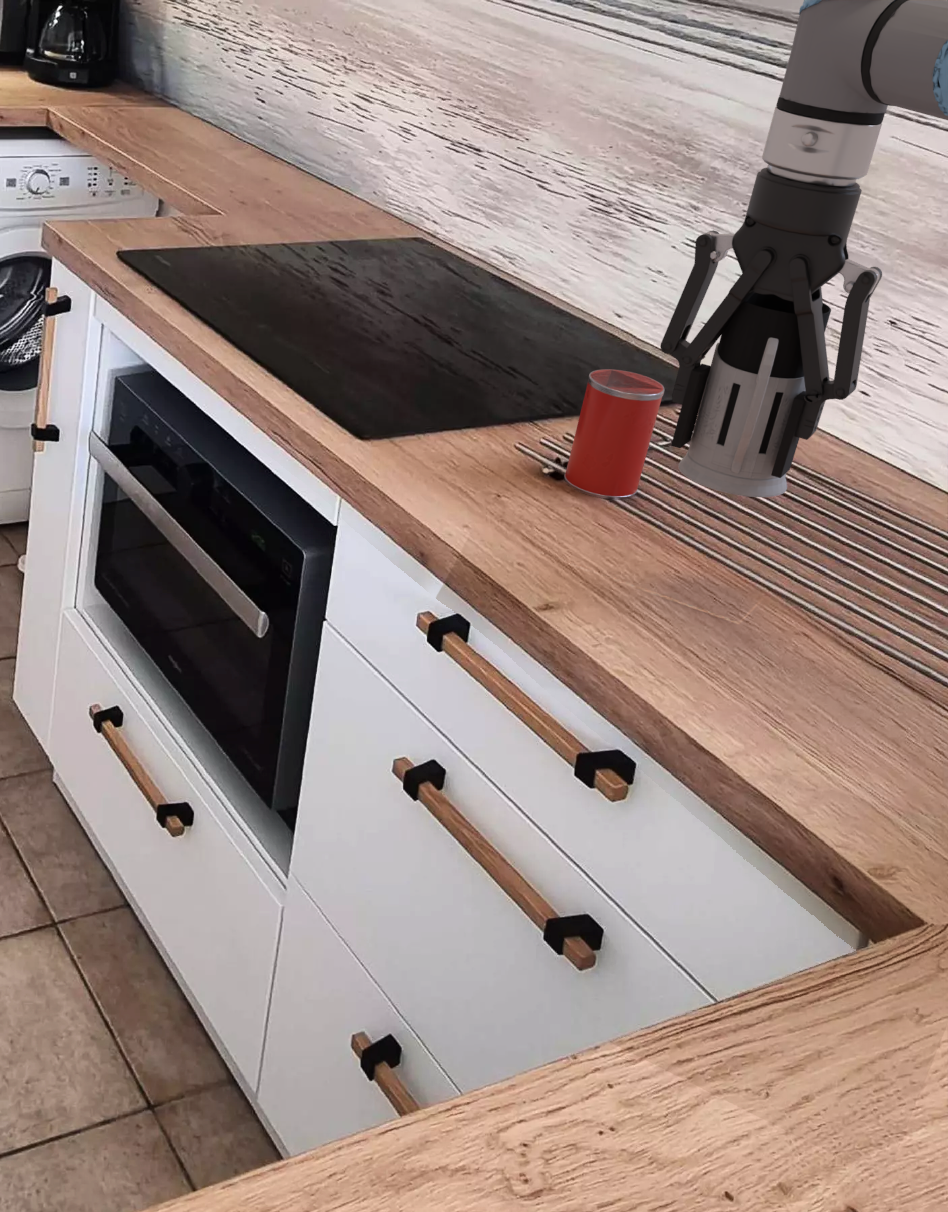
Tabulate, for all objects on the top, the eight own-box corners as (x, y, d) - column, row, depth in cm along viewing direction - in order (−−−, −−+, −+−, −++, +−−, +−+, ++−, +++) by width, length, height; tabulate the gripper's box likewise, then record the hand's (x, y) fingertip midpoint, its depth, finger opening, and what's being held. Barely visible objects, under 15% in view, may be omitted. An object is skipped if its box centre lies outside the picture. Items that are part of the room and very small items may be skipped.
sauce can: (646, 489, 158) (674, 384, 153) (620, 508, 152) (649, 400, 147) (579, 467, 161) (605, 364, 156) (552, 485, 156) (577, 379, 151)
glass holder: (788, 471, 135) (839, 299, 128) (783, 528, 123) (839, 341, 116) (682, 449, 137) (727, 279, 131) (667, 503, 125) (716, 318, 119)
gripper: (663, 151, 121) (594, 432, 131) (944, 209, 111) (846, 508, 121) (694, 142, 127) (626, 412, 137) (965, 196, 117) (869, 483, 127)
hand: (729, 457), depth 129 cm, fingers closed on glass holder, 7 cm apart
